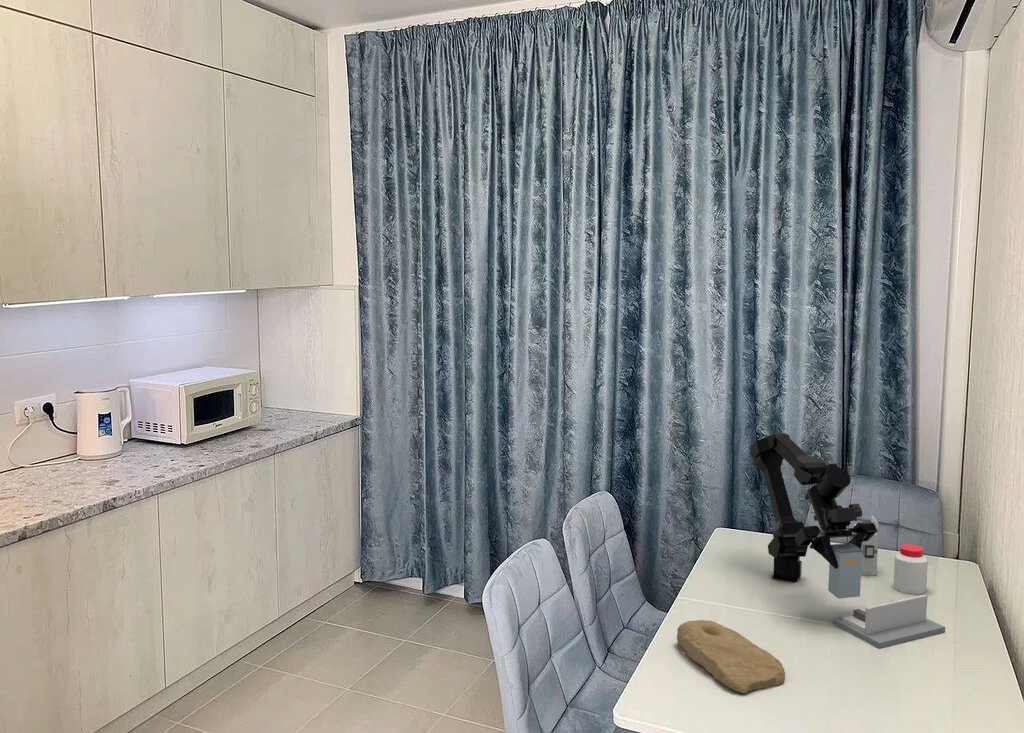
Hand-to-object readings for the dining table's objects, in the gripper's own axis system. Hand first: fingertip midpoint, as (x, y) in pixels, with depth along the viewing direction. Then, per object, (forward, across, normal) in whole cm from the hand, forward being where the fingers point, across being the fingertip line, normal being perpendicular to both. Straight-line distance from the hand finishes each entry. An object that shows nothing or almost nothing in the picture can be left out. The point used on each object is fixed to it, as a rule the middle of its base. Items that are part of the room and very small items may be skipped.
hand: (848, 567), depth 199 cm
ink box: (-11, +23, +31) cm, 41 cm away
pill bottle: (-1, +27, +21) cm, 34 cm away
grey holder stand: (+13, +8, +6) cm, 16 cm away
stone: (+20, -36, -1) cm, 42 cm away
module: (+4, 0, +6) cm, 7 cm away
